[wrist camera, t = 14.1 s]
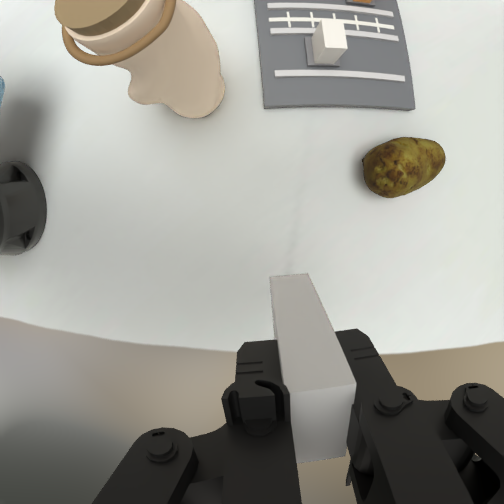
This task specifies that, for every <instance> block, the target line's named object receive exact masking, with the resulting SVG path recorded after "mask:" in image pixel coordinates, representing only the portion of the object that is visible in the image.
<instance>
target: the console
mask: <svg viewBox="0 0 504 504" xmlns="http://www.w3.org/2000/svg"><path fill="white" fill-rule="evenodd" d="M374 1H375V6H374V7H367V6H359V5H350V4H346V2H345V0H254V4H255V14H256V23H257V33H258V44H259V54H260V65H261V75H262V87H263V98H264V109H266V108H286V107H360V108H380V109H395V110H407V111H410V110H414V109H415V100H414V91H413V83H412V76H411V69H410V63H409V57H408V51H407V45H406V40H405V35H404V30H403V26H402V21H401V17H400V13H399V8H398V4H397V1H396V0H374ZM321 19H334V20H343V23H344V29H345V35H346V41H347V48H348V49H347V50H346V51H345V52H344V53H343V54H342V55H341V57H340V58H339V60H340V66H339V67H307V61H306V53H305V45H304V37H312V36H313V34H314V32H315V30H316V28H317V26H318V24H319V22H320V20H321Z"/></svg>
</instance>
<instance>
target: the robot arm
mask: <svg viewBox="0 0 504 504" xmlns="http://www.w3.org/2000/svg"><path fill="white" fill-rule="evenodd" d="M4 90H5V83H4V81H3V79H2V77H1V76H0V106H1V102H2V98H3V94H4ZM45 221H46V201H45V195H44V191H43V188H42V185H41V183H40V181H39V179H38V177H37V175H36V174H35V172H34V171H33V170H32V169H31V168H30V167H29V166H27V165H26V164H24V163H22V162H18V161H12V162H4V163H1V164H0V255H18V254H21V253H23V252H25V251H27V250H29V249H31V248H32V247H34V246H35V245H36V243H37V242H38V241H39V239H40V237H41V235H42V233H43V230H44V226H45ZM270 288H271V301H272V313H273V326H274V339H275V340H266V341H254V342H244V344H243V345H242V346H241V348H240V349H239V350H238V352H237V362H236V363H237V365H236V376H235V382H234V383H232V384H231V385H230V386H229V387H228V388H227V389H226V390H225V391H224V394H223V396H222V398H221V399H222V404H223V408H224V413H225V417H226V422H227V423H226V424H224V425H223V426H222V427H221V428H219V429H217V430H216V431H213V432H210V433H207V434H204V435H199V436H195V437H191V438H189V437H188V436H187V435H186V434H185V433H184V432H182V431H179V430H177V429H174V428H159V429H153V430H151V431H148V432H146V433H144V434H142V435H141V436H140V437H139V438H138V439H137V440H136V441H135V442H134V444H133V445H132V447H131V448H130V449H129V451H128V452H127V454H126V455H125V457H124V458H123V460H122V461H121V462H120V464H119V465H118V467H117V468H116V470H115V471H114V472H113V474H112V475H111V477H110V479H109V480H108V481H107V483H106V484H105V485H104V487H103V488H102V490H101V491H100V493H99V494H98V496H97V497H96V498H95V500H94V501H93V503H92V504H302V502H301V494H300V487H299V478H298V470H297V463H304V462H311V461H319V460H325V459H331V458H337V457H343V456H345V454H346V449H347V447H348V450H349V454H350V457H351V460H350V465H349V469H348V473H347V477H346V486H349V485H350V483H351V481H352V485H353V489H354V493H355V497H356V501H357V504H504V398H503V397H502V396H500V395H499V394H498V393H496V392H495V391H494V390H493V389H491V388H489V387H487V386H486V385H483V384H478V383H466V384H464V385H461V386H459V387H458V388H456V389H455V390H454V391H453V393H452V396H451V398H450V400H442V401H440V400H439V401H424V400H418V399H417V398H416V396H415V395H414V394H413V393H412V392H411V391H409V390H407V389H405V388H403V387H400V386H397V385H396V384H395V382H394V380H393V378H392V377H391V375H390V373H389V371H388V369H387V368H386V366H385V364H384V362H383V361H382V359H381V357H380V356H379V354H378V352H377V350H376V349H375V348H374V345H373V344H372V342H371V340H370V338H369V337H368V336H367V335H366V334H364V333H363V332H361V331H360V330H358V329H351V330H344V331H337V332H334V330H333V327H332V325H331V323H330V321H329V318H328V316H327V314H326V312H325V309H324V307H323V305H322V303H321V301H320V298H319V296H318V294H317V292H316V290H315V287H314V285H313V283H312V281H311V279H310V277H309V274H308V273H306V274H296V275H285V276H275V277H270ZM475 453H476V454H477V455H478V456H479V457H478V456H477V455H475Z"/></svg>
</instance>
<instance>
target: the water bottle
mask: <svg viewBox="0 0 504 504" xmlns="http://www.w3.org/2000/svg"><path fill="white" fill-rule="evenodd" d="M54 9H55V15H56V18H57V20H58V21H59V22H60V23H61V24H62V36H63V41H64V44H65V47H66V49H67V51H68V52H69V53H70V54H71V55H72V56H73V57H74V58H75V59H77V60H78V61H80V62H82V63H85V64H89V65H95V66H104V65H111V64H113V65H115V66H118V67H121V68H124V69H126V70H128V71H129V72H130V73H131V82H130V85H129V87H128V95H129V97H130V98H131V99H132V100H133V101H135V102H137V103H139V104H143V105H149V104H157V103H163V104H165V105H167V106H168V107H169V108H171V109H172V110H173V111H174V112H176V113H177V114H178V115H180V116H183V117H186V118H201V117H204V116H207V115H209V114H210V113H211V112H213V111H214V110H215V109H216V108H217V107H218V106H219V104H220V103H221V101H222V99H223V96H224V92H225V85H224V80H223V77H222V75H221V74H220V58H219V51H218V47H217V44H216V42H215V40H214V38H213V36H212V35H211V33H210V31H209V30H208V28H207V26H206V24H205V22H204V21H203V19H202V17H201V16H200V15H199V14H198V12H197V11H196V10H195V9H194V8H193V7H191V6H190V5H189V4H187V3H186V2H184V1H183V0H56V1H55V7H54ZM74 39H75V40H76V41H77V42H79V43H80V44H82V45H83V46H85V47H86V48H88V49H90V50H91V51H93V52H94V53H96V54H97V55H91V54H88V53H86V52H84V51H82V50H81V49H80V48H79V47H78V46H77V45H76V44H75V42H74ZM98 55H99V56H98Z"/></svg>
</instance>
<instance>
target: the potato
mask: <svg viewBox="0 0 504 504" xmlns="http://www.w3.org/2000/svg"><path fill="white" fill-rule="evenodd" d="M362 162H363V168H364V178H365V182H366V184H367V185H368V187H369V189H370V190H371V191H373V192H374V193H376V194H378V195H380V196H382V197H386V198H394V197H398V196H401V195H406V194H408V193H410V192H412V191H414V190H417V189H419V188H421V187H422V186H424V185H426V184H427V183H429V182H430V181H431V180H433V179H434V178H435V177H436V176H437V175H438V174H439V172H440V171H441V170H442V168H443V166H444V164H445V153H444V150H443V148H442V147H441V146H440V145H439V144H438V143H437V142H435V141H432V140H428V139H420V138H412V137H410V138H408V137H401V138H396V139H393V140H390V141H388V142H386V143H384V144H381V145H379V146H377V147H375V148H373V149H372V150H370V151H369V152H368V153H367V155H366V156H365V157H364V158H363V159H362Z"/></svg>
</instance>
